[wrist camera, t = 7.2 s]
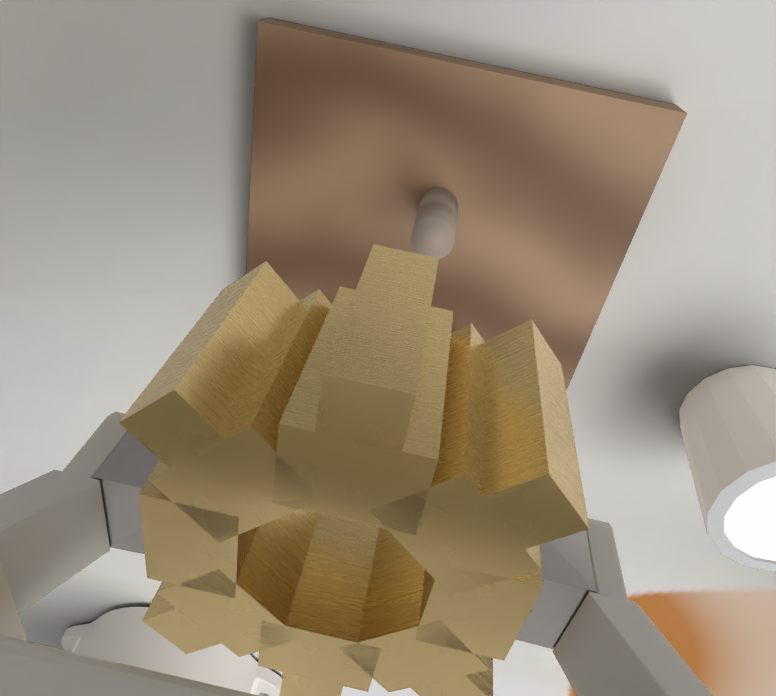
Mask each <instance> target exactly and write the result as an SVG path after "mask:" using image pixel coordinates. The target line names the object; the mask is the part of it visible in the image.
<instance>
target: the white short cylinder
mask: <svg viewBox="0 0 776 696" xmlns="http://www.w3.org/2000/svg"><path fill="white" fill-rule="evenodd" d="M679 418H680V429H681V433H682V437H683V441H684V445H685V449H686V453H687V457H688V461H689V464H690V468H691V472H692V476H693V480H694V484H695V488H696V492H697V496H698V500H699V504H700V508H701V511H702V515H703V519H704V523H705V527H706V531H707V535H708V536H709V538H710V539H711V541H712V542H713V543H714V545H715V546H716V548H717V549H718V550H719V552H720V553H721V554H723V555H725V556H727V557H729V558H730V559H732V560H734V561H736V562H738V563H740V564H742V565H743V566H747V567H753V568H758V569H764V570H769V571H774V572H776V369H773V368H767V367H761V366H755V365H749V366H742V367H734V368H727V369H725V370H723V371H720V372H718V373H716V374H714V375H711V376H709V377H707V378H704V379H703V380H702V381H701V382H700V383H699V384H698V385H696V386H695V387H694V388H693V389H692V390H691V391H690V392H688V394H687V395H686V397H685V399H684V401H683V403H682V405H681V407H680V409H679Z"/></svg>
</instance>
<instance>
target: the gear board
mask: <svg viewBox="0 0 776 696" xmlns="http://www.w3.org/2000/svg"><path fill="white" fill-rule="evenodd" d="M686 114H687V113H686V112H685V111H683V110H682V109H681V108H679V107H678V106H677V105H674V104H670V103H665V102H660V101H656V100H651V99H646V98H642V97H637V96H632V95H628V94H623V93H618V92H614V91H609V90H604V89H600V88H595V87H590V86H586V85H581V84H577V83H572V82H567V81H563V80H558V79H553V78H549V77H544V76H539V75H535V74H530V73H525V72H521V71H516V70H511V69H507V68H502V67H497V66H493V65H488V64H483V63H479V62H474V61H469V60H465V59H460V58H455V57H451V56H446V55H441V54H437V53H432V52H427V51H423V50H418V49H413V48H409V47H404V46H399V45H395V44H390V43H385V42H381V41H376V40H371V39H367V38H362V37H357V36H353V35H348V34H343V33H339V32H334V31H329V30H325V29H320V28H315V27H311V26H306V25H301V24H297V23H292V22H287V21H283V20H278V19H273V18H267V19H264V20H260V21H258V27H257V49H256V71H255V92H254V114H253V136H252V158H251V179H250V201H249V223H248V245H247V266H246V274H247V273H249V272H250V271H252V270H253V269H255V268H256V267H258V266H259V265H261V264H262V263H264V262H265V261H267V262H268V264H269V265H270V266H271V267H272V268H273V270H274V271H275V272H276V273H277V274H278V276H279V277H280V278H281V279H282V280H283V282H284V283H285V284H286V285H287V286H288V288H289V289H290V290H291V291H292V292H293V294H294V295H295V296H296V297H297V298H298V300H299V301H301V300H302V299H304V298H305V297H307V296H309V295H310V294H312V293H314V292H315V291H317V290H320V291H321V292H322V293H323V295H324V296H325V297H326V298H327V299H328V301H329V302H330V303H331V304H332V303H333V301H334V298H335V296H336V294H337V292H338V289H339V287H340V286H341V287H345V288H350V289H354V290H356V288H357V285H358V283H359V280H360V278H361V275H362V272H363V270H364V267H365V265H366V262H367V260H368V257H369V255H370V252H371V250H372V247H373V244H375V245H380V246H385V247H389V248H394V249H398V250H403V251H408V252H412V253H417V254H421V255H426V256H431V257H435V258H439V260H438V266H437V272H436V279H435V285H434V291H433V297H432V303H431V306H432V307H437V308H441V309H446V310H450V311H453V320H452V330H451V333H452V332H454V331H456V330H458V329H460V328H462V327H464V326H466V325H468V324H470V323H472V324H473V326H474V327H475V329H476V330H477V331H478V333H479V334H480V336H481V337H482V338H483V340H484V341H487V340H489V339H492V338H494V337H496V336H498V335H500V334H502V333H504V332H506V331H508V330H510V329H512V328H514V327H516V326H518V325H520V324H523V323H525V322H527V321H529V320H531V319H532V320H533V322H534V323H535V325H536V326H537V328H538V330H539V331H540V333H541V334H542V336H543V337H544V339H545V340H546V342H547V343H548V345H549V347H550V348H551V350H552V351H553V353H554V354H555V356H556V357H557V359H558V360H559V362H560V363H561V365H562V371H563V377H564V383H565V389H566V390H567V388H568V385H569V383H570V381H571V379H572V376H573V374H574V372H575V369H576V367H577V365H578V362H579V360H580V358H581V356H582V353H583V351H584V349H585V346H586V344H587V342H588V339H589V337H590V335H591V333H592V330H593V328H594V326H595V323H596V321H597V319H598V317H599V314H600V312H601V310H602V307H603V305H604V303H605V300H606V298H607V296H608V294H609V291H610V289H611V287H612V284H613V282H614V280H615V277H616V275H617V273H618V271H619V268H620V266H621V264H622V261H623V259H624V257H625V255H626V252H627V250H628V248H629V245H630V243H631V241H632V238H633V236H634V234H635V232H636V229H637V227H638V225H639V222H640V220H641V218H642V215H643V213H644V211H645V209H646V206H647V204H648V202H649V199H650V197H651V195H652V193H653V190H654V188H655V186H656V183H657V181H658V179H659V176H660V174H661V172H662V170H663V167H664V165H665V163H666V160H667V158H668V156H669V154H670V151H671V149H672V147H673V144H674V142H675V140H676V137H677V135H678V133H679V131H680V128H681V126H682V124H683V121H684V119H685V117H686Z"/></svg>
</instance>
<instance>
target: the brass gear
mask: <svg viewBox="0 0 776 696" xmlns="http://www.w3.org/2000/svg"><path fill="white" fill-rule="evenodd" d="M438 260H439V258H435V257H431V256H426V255H421V254H417V253H412V252H408V251H403V250H398V249H394V248H389V247H385V246H380V245H375V244H373V247H372V250H371V252H370V255H369V257H368V260H367V262H366V265H365V267H364V270H363V272H362V275H361V278H360V280H359V283H358V285H357V288H356V290H354V289H350V288H345V287H341V286H340V287H339V289H338V292H337V294H336V296H335V298H334V301H333V303H332V304H331V303H330V302H329V301H328V299H327V298H326V297H325V296H324V295H323V293H322V292H321V291H320V290H317V291H315V292H314V293H312V294H310V295H309V296H307V297H305V298H304V299H302V300H301V301H299V300H298V298H297V297H296V296H295V295H294V294H293V292H292V291H291V290H290V289H289V288H288V286H287V285H286V284H285V283H284V282H283V280H282V279H281V278H280V277H279V276H278V274H277V273H276V272H275V271H274V270H273V268H272V267H271V266H270V265H269V264H268V262H267V261H265V262H264V263H262V264H261V265H259V266H258V267H256V268H255V269H253V270H252V271H250V272H249V273H247V274H246V275H244V276H243V277H241V278H240V279H238V280H237V281H235V282H234V283H232V284H231V285H229V286H228V287H226V288H225V289H223V290H222V291H221V292H220V293H219V295H218V296H217V297H216V299H215V300H214V301H213V302H212V304H211V305H210V306H209V308H208V309H207V310H206V311H205V313H204V314H203V315H202V317H201V318H200V319H199V320H198V322H197V323H196V324H195V325H194V327H193V328H192V329H191V331H190V332H189V333H188V334H187V336H186V337H185V338H184V340H183V341H182V342H181V343H180V345H179V346H178V347H177V349H176V350H175V351H174V352H173V354H172V355H171V356H170V357H169V359H168V360H167V361H166V363H165V364H164V365H163V366H162V368H161V369H160V370H159V372H158V373H157V374H156V375H155V377H154V378H153V379H152V381H151V382H150V383H149V384H148V386H147V387H146V388H145V390H144V391H143V392H142V393H141V395H140V396H139V397H138V398H137V400H136V401H135V402H134V404H133V405H132V406H131V407H130V409H129V410H128V411H127V413H126V414H125V415H124V416H123V418H122V419H121V420H120V422H119V423H120V424H121V425H122V426H123V427H124V428H125V429H126V430H127V431H128V432H129V433H131V434H132V435H133V436H134V437H135V438H136V439H137V440H138V441H139V442H140V443H142V444H143V445H144V446H145V447H146V448H147V449H148V450H149V451H150V452H151V453H153V454H154V455H155V456H156V457H157V458H158V459H159V462H158V463H157V465H156V466H155V468H154V470H153V471H152V473H151V474H150V476H149V477H148V479H147V482H146V484H145V485H144V487H143V488H142V490H141V491H140V493H139V501H140V511H141V521H142V531H143V541H144V551H145V561H146V571H147V578H150V579H154V580H158V581H162V583H161V585H160V587H159V589H158V591H157V593H156V594H155V596H154V598H153V600H152V602H151V604H150V606H149V608H148V610H147V612H146V614H145V616H144V618H143V620H142V621H143V622H144V623H146V624H147V625H148V626H150V627H151V628H152V629H154V630H155V631H156V632H157V633H159V634H160V635H161V636H163V637H164V638H165V639H167V640H168V641H169V642H171V643H172V644H173V645H175V646H176V647H177V648H179V649H180V650H181V651H183V652H184V653H185V654H189V653H192V652H195V651H198V650H202V649H205V648H208V647H211V646H214V645H218V644H221V643H222V644H223V645H224V646H225V647H227V648H228V649H229V650H231V651H232V652H233V653H234V654H236V655H237V656H238V657H241V656H245V655H248V654H252V653H255V652H258V651H259V660H258V666H261V667H265V668H269V669H273V670H278V671H282V672H283V675H282V682H281V690H280V696H341V692H342V688H343V686H346V687H350V688H355V689H359V690H363V691H367V692H368V690H369V687H370V684H371V680H372V678H373V679H374V680H376V681H377V682H378V683H379V684H380V685H381V686H382V687H383V688H385V689H386V690H387V691H388V692H392V691H396V690H401V689H405V688H411V689H412V690H414V691H415V692H416V693H417V694H418V695H419V696H493V658H495V659H499V660H504V659H505V658H506V656H507V654H508V652H509V650H510V648H511V646H512V644H513V643H514V641H515V639H516V637H517V635H518V633H519V631H520V630H521V628H522V626H523V624H524V622H525V620H526V618H527V616H528V615H529V613H530V611H531V609H532V607H533V605H534V603H535V601H536V600H537V598H538V596H539V594H540V592H541V590H542V588H543V576H542V564H541V552H540V544H543V543H546V542H550V541H553V540H556V539H559V538H562V537H566V536H569V535H572V534H575V533H579V532H582V531H585V530H588V529H589V524H588V518H587V512H586V506H585V500H584V494H583V489H582V483H581V477H580V471H579V465H578V459H577V453H576V447H575V442H574V436H573V430H572V424H571V418H570V412H569V406H568V400H567V395H566V389H565V383H564V377H563V371H562V365H561V363H560V362H559V360H558V359H557V357H556V356H555V354H554V353H553V351H552V350H551V348H550V347H549V345H548V343H547V342H546V340H545V339H544V337H543V336H542V334H541V333H540V331H539V330H538V328H537V326H536V325H535V323H534V322H533V320H532V319H531V320H529V321H527V322H525V323H523V324H520V325H518V326H516V327H514V328H512V329H510V330H508V331H506V332H504V333H502V334H500V335H498V336H496V337H494V338H492V339H489V340H487V341H484V340H483V338H482V337H481V336H480V334H479V333H478V331H477V330H476V329H475V327H474V326H473V324H472V323H470V324H468V325H466V326H464V327H462V328H460V329H458V330H456V331H454V332H452V333H451V330H452V320H453V311H450V310H446V309H441V308H437V307H432V306H431V303H432V297H433V291H434V285H435V279H436V272H437V266H438Z"/></svg>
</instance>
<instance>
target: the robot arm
mask: <svg viewBox="0 0 776 696" xmlns="http://www.w3.org/2000/svg"><path fill="white" fill-rule="evenodd" d="M124 415H125V414H123V413H119V412H114V413H112V414H111V415H109V416H107V418H106V419H105V420H104V421H103V422H102V424H101V425H100V426H99V427H98V429H97V430H96V431H95V432H94V433H93V435H92V436H91V437H90V438H89V440H88V441H87V442H86V443H85V444H84V446H83V447H82V448H81V449H80V451H79V452H78V453H77V454H76V455H75V457H74V458H73V459H72V460H71V462H70V463H69V464H68V465H67V466H66V468H65V469H64V470H63V471H58V470H53V471H51V472H49V473H47V474H44V475H42V476H40V477H38V478H35V479H33V480H31V481H29V482H27V483H24V484H22V485H20V486H18V487H16V488H13V489H11V490H9V491H7V492H5V493H2V494H0V696H280V690H281V682H282V678H281V677H280V676H279V675H278V674H276V673H275V672H273V671H271V670H270V669H268V668H265V667H261V666H258V662H257V661H256V660H255V659H254V658H253V657H252V656H251V655H250V654H248V655H245V656H241V657H238V656H237V655H236V654H234V653H233V652H232V651H231V650H229V649H228V648H227V647H225V646H224V645H223V644H222V643H221V644H218V645H214V646H211V647H208V648H205V649H202V650H198V651H195V652H192V653H189V654H185V653H184V652H183V651H181V650H180V649H179V648H177V647H176V646H175V645H173V644H172V643H171V642H169V641H168V640H167V639H165V638H164V637H163V636H161V635H160V634H159V633H157V632H156V631H155V630H154V629H152V628H151V627H150V626H148V625H147V624H146V623H144V622H143V621H142V620H143V618H144V616H145V614H146V612H147V610H148V608H149V607H126V608H120V609H116V610H112V611H109V612H107V613H105V614H103V615H102V616H100V617H99V618H98V619H96V620H95V621H93V622H92V623H89V624H83V625H77V626H72V627H69V628H67V629H66V631H65V633H64V635H63V637H62V639H61V645H62V647H63V649H64V650H63V649H58V648H54V647H50V646H45V645H41V644H37V643H33V642H28V641H27V639H26V635H25V632H24V629H23V626H22V623H21V620H20V617H19V613H20V612H22V611H23V610H25V609H26V608H28V607H29V606H30V605H32V604H33V603H35V602H36V601H38V600H39V599H40V598H42V597H43V596H45V595H46V594H48V593H49V592H50V591H52V590H53V589H55V588H56V587H58V586H59V585H61V584H62V583H63V582H65V581H66V580H68V579H69V578H71V577H72V576H73V575H75V574H76V573H78V572H79V571H81V570H82V569H83V568H85V567H86V566H88V565H89V564H91V563H92V562H93V561H95V560H96V559H98V558H99V557H101V556H102V555H104V554H105V553H106V552H108V551H109V550H110V547H112V548H117V549H122V550H127V551H132V552H137V553H142V554H145V551H144V541H143V531H142V521H141V511H140V501H139V493H140V491H141V490H142V488H143V487H144V485H145V484H146V482H147V479H148V477H149V476H150V474H151V473H152V471H153V470H154V468H155V466H156V465H157V463H158V462H159V459H158V458H157V457H156V456H155V455H154V454H153V453H151V452H150V451H149V450H148V449H147V448H146V447H145V446H144V445H143V444H142V443H140V442H139V441H138V440H137V439H136V438H135V437H134V436H133V435H132V434H131V433H129V432H128V431H127V430H126V429H125V428H124V427H123V426H122V425H121V424H120V423H119V422H120V420H121V419H122V418H123V416H124ZM588 524H589V529H588V530H585V531H582V532H579V533H575V534H572V535H569V536H566V537H562V538H559V539H556V540H553V541H550V542H546V543H543V544H540V552H541V564H542V576H543V588H542V590H541V592H540V594H539V596H538V598H537V600H536V601H535V603H534V605H533V607H532V609H531V611H530V613H529V615H528V616H527V618H526V620H525V622H524V624H523V626H522V628H521V630H520V631H519V633H518V635H517V637H516V640H520V641H524V642H528V643H531V644H535V645H539V646H543V647H547V648H551V649H554V650H553V653H554V655H555V657H556V659H557V660H558V662H559V664H560V666H561V668H562V669H563V671H564V673H565V675H566V677H567V679H568V680H569V682H570V684H571V686H572V688H573V690H574V691H575V693H576V695H577V696H712V695H711V693H710V692H709V691H708V690H707V688H706V687H705V686H704V685H703V683H702V682H701V681H700V680H699V679H698V677H697V676H696V675H695V674H694V672H693V671H692V670H691V669H690V668H689V666H688V665H687V664H686V663H685V662H684V660H683V659H682V658H681V657H680V655H679V654H678V653H677V652H676V650H675V649H674V648H673V647H672V646H671V644H670V643H669V642H668V641H667V640H666V638H665V637H664V636H663V635H662V633H661V632H660V631H659V630H658V629H657V627H656V626H655V625H654V624H653V623H652V621H651V620H650V619H649V618H648V616H647V615H646V614H645V613H644V612H643V610H642V609H641V608H640V607H639V605H638V604H637V603H636V602H633V601H629V600H628V598H627V593H626V589H625V584H624V580H623V575H622V571H621V566H620V561H619V557H618V552H617V548H616V543H615V538H614V534H613V529H612V527H611V526H610V524H609V523H607V522H602V521H597V520H593V519H588Z"/></svg>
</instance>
